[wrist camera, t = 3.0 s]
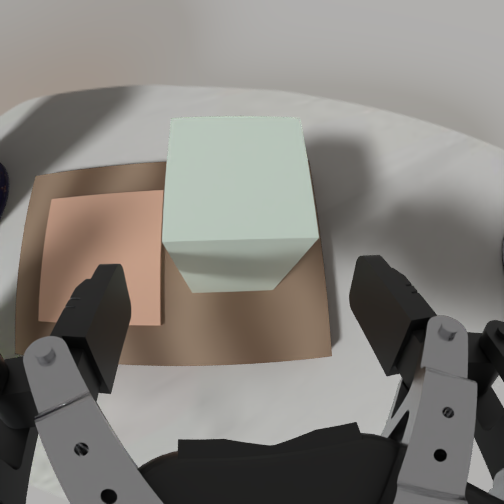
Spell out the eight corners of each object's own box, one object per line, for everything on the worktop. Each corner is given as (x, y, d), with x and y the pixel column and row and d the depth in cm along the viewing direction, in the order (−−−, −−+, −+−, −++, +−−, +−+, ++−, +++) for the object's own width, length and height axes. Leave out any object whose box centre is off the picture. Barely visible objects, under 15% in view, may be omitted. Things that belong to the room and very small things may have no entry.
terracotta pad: (164, 191, 21) (163, 189, 21) (161, 325, 18) (160, 325, 18) (53, 200, 20) (51, 199, 20) (40, 321, 18) (38, 321, 17)
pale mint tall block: (267, 215, 21) (300, 118, 11) (273, 290, 20) (319, 237, 10) (192, 217, 21) (171, 118, 11) (192, 292, 19) (161, 242, 10)
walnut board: (304, 170, 24) (309, 160, 23) (324, 355, 20) (331, 356, 19) (43, 184, 22) (35, 176, 20) (26, 353, 18) (15, 353, 17)
